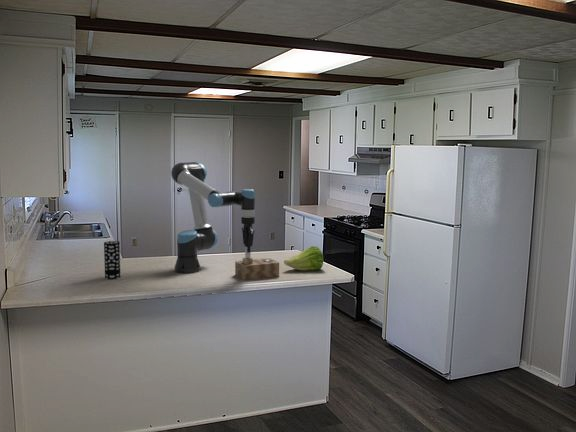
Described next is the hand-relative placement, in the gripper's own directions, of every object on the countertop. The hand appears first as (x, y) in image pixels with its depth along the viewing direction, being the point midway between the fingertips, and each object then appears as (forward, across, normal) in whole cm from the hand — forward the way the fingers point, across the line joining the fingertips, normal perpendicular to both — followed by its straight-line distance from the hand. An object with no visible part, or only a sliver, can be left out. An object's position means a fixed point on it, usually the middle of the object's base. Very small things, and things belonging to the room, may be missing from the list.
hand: (247, 257), depth 306 cm
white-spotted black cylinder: (+11, +28, +70) cm, 76 cm away
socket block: (+11, 0, -6) cm, 13 cm away
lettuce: (+12, +2, -37) cm, 39 cm away
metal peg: (+11, 0, -12) cm, 16 cm away
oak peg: (+8, 0, 0) cm, 8 cm away
